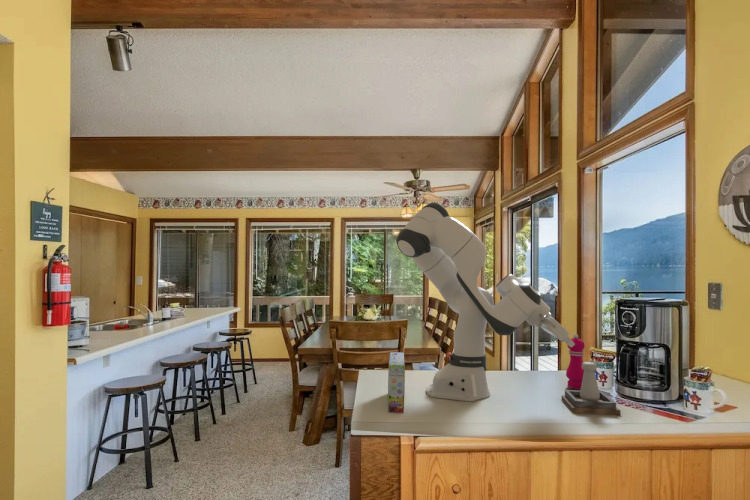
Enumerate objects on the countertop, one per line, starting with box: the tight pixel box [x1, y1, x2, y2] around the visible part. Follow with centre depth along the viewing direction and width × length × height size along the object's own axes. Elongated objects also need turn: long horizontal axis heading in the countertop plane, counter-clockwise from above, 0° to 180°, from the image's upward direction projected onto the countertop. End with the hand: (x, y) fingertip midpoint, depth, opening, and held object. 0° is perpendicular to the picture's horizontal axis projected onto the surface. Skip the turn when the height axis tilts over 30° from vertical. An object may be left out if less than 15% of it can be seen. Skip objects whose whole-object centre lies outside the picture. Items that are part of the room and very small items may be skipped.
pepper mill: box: [565, 333, 585, 390], centre depth 163 cm, size 7×7×20 cm
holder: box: [561, 389, 622, 416], centre depth 139 cm, size 14×13×4 cm
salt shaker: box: [579, 361, 600, 401], centre depth 139 cm, size 6×6×13 cm
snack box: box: [387, 351, 406, 414], centre depth 145 cm, size 21×6×15 cm, turn 177°
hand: (568, 342), depth 142 cm, fingers open, 8 cm apart
